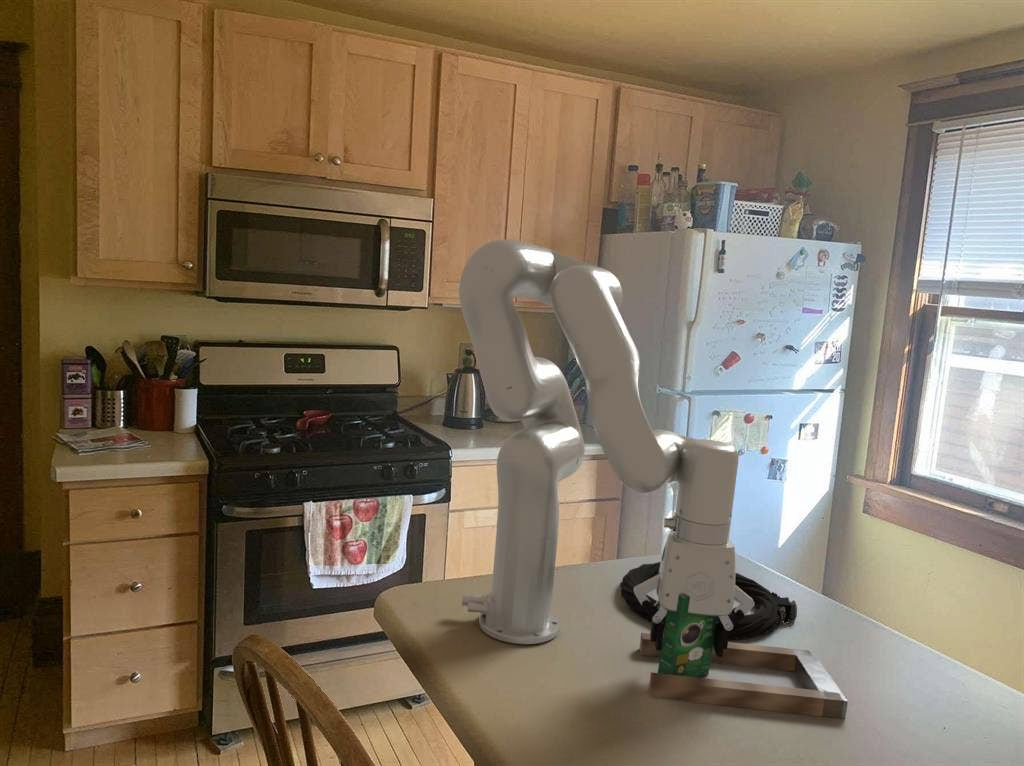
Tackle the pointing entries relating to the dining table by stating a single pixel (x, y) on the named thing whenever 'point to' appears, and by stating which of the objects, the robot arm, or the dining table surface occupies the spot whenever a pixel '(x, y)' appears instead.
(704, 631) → the coffee box
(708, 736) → the dining table surface
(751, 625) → the cable lock
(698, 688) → the frame
